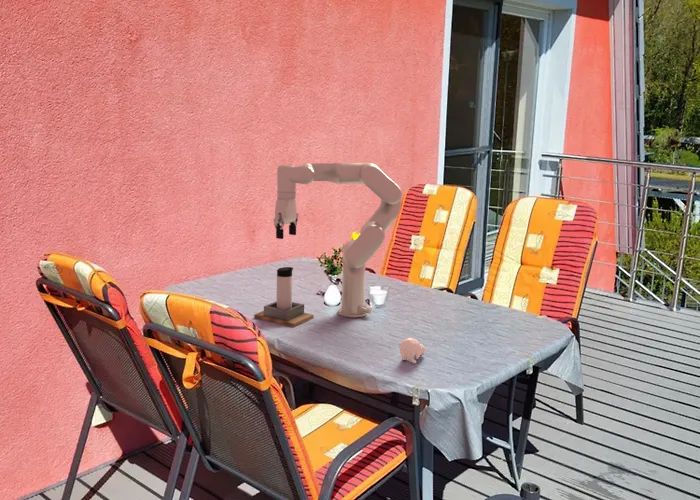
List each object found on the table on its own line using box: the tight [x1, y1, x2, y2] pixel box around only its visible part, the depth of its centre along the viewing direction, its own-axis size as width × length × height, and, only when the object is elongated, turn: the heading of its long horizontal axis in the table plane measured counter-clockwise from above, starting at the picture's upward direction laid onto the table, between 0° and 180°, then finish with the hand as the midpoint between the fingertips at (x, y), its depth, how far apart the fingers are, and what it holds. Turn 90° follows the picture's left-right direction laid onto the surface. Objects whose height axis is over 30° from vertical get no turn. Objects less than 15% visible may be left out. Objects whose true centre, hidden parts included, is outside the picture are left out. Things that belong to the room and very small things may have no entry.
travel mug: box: [276, 266, 294, 310], centre depth 276 cm, size 6×7×20 cm
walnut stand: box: [253, 310, 315, 328], centre depth 278 cm, size 20×14×2 cm
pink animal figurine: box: [399, 337, 426, 364], centre depth 237 cm, size 6×8×12 cm
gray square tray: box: [263, 300, 305, 321], centre depth 277 cm, size 12×12×4 cm
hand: (286, 236), depth 278 cm, fingers open, 9 cm apart
